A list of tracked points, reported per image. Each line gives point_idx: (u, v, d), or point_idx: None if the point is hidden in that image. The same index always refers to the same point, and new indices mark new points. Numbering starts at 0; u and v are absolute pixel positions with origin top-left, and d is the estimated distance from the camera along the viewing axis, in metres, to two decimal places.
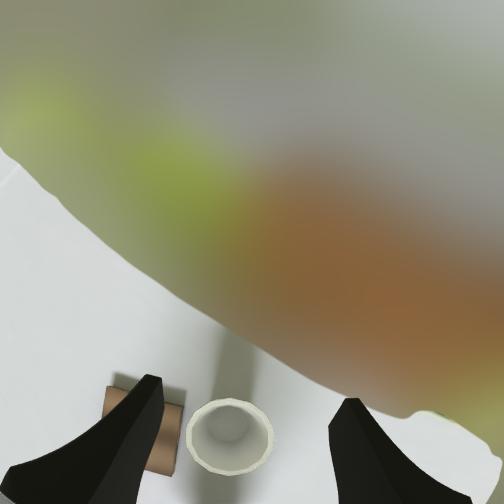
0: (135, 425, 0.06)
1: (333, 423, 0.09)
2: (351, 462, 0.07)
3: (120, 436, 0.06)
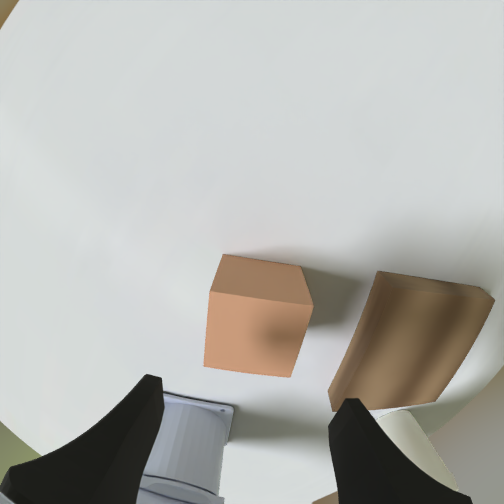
0: (135, 425, 0.06)
1: (333, 423, 0.09)
2: (351, 462, 0.07)
3: (120, 436, 0.06)
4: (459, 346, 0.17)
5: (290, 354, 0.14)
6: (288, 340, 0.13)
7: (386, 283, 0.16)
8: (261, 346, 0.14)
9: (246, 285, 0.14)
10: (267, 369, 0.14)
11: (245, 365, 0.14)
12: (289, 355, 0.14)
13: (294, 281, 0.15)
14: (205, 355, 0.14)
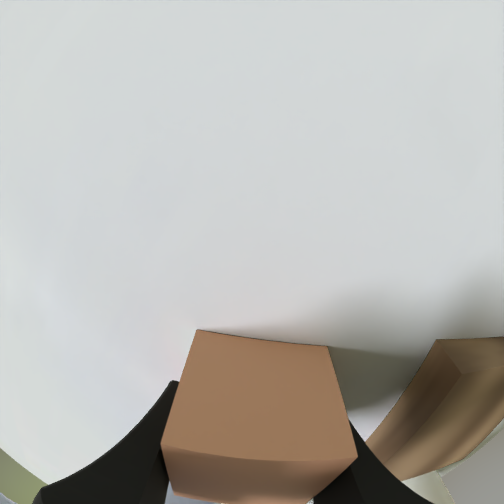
0: None
1: None
2: None
3: (153, 446, 0.06)
4: None
5: (306, 494, 0.06)
6: (305, 486, 0.06)
7: (451, 363, 0.08)
8: (260, 492, 0.06)
9: (233, 421, 0.06)
10: (269, 503, 0.07)
11: (236, 501, 0.07)
12: (304, 494, 0.06)
13: (320, 393, 0.07)
14: (174, 489, 0.06)
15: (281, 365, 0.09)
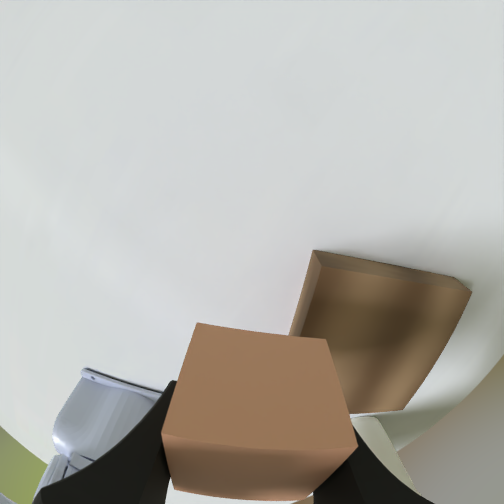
0: None
1: None
2: None
3: (154, 446, 0.06)
4: (427, 346, 0.15)
5: (306, 487, 0.06)
6: (306, 478, 0.06)
7: (317, 261, 0.14)
8: (261, 484, 0.06)
9: (234, 410, 0.06)
10: (270, 497, 0.07)
11: (236, 495, 0.07)
12: (305, 487, 0.06)
13: (319, 384, 0.08)
14: (174, 483, 0.07)
15: (280, 356, 0.09)
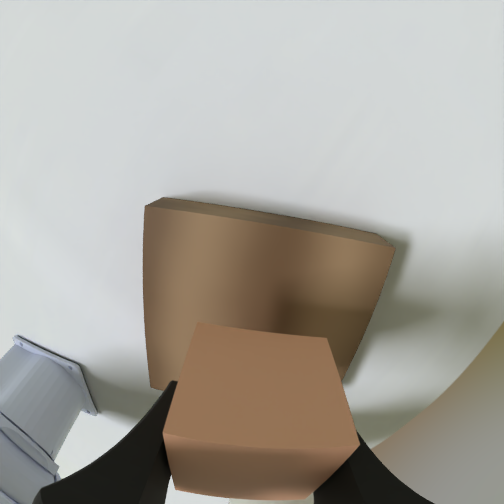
0: None
1: None
2: None
3: (153, 446, 0.06)
4: (333, 324, 0.13)
5: (308, 486, 0.06)
6: (308, 477, 0.06)
7: (151, 204, 0.12)
8: (262, 484, 0.06)
9: (235, 410, 0.06)
10: (271, 497, 0.07)
11: (237, 495, 0.07)
12: (306, 487, 0.06)
13: (321, 383, 0.08)
14: (175, 483, 0.06)
15: (281, 355, 0.09)
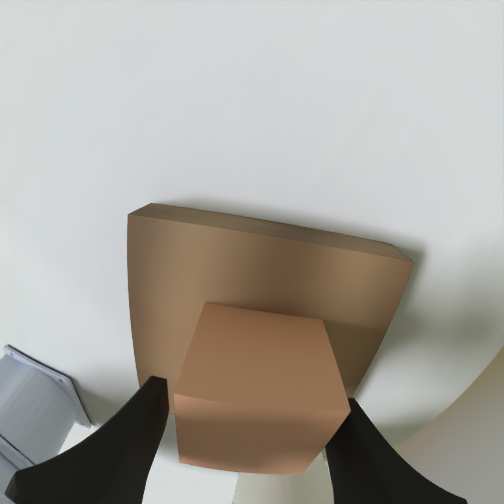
0: (141, 427, 0.06)
1: None
2: (346, 463, 0.07)
3: (127, 438, 0.06)
4: (342, 346, 0.12)
5: (304, 457, 0.08)
6: (304, 446, 0.07)
7: (136, 212, 0.11)
8: (262, 452, 0.07)
9: (239, 375, 0.07)
10: (270, 470, 0.08)
11: (238, 466, 0.08)
12: (303, 458, 0.08)
13: (316, 356, 0.09)
14: (180, 454, 0.08)
15: (280, 332, 0.10)
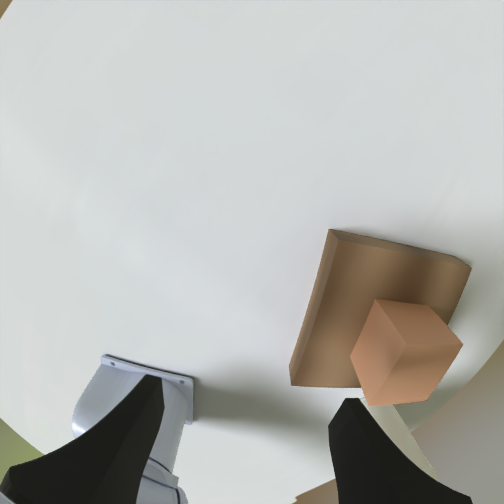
0: (135, 425, 0.06)
1: (333, 423, 0.09)
2: (351, 462, 0.07)
3: (120, 436, 0.06)
4: None
5: (435, 382, 0.13)
6: (439, 372, 0.13)
7: (334, 237, 0.16)
8: (420, 380, 0.13)
9: (420, 333, 0.13)
10: (415, 397, 0.13)
11: (401, 398, 0.13)
12: (434, 383, 0.13)
13: (438, 323, 0.14)
14: (375, 396, 0.13)
15: (418, 312, 0.15)
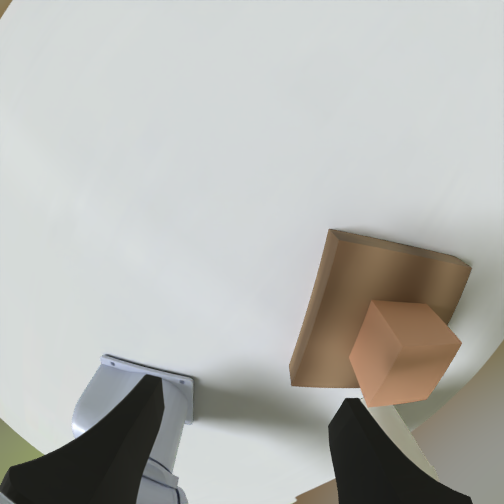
0: (135, 425, 0.06)
1: (333, 423, 0.09)
2: (351, 462, 0.07)
3: (120, 436, 0.06)
4: None
5: (434, 382, 0.13)
6: (438, 371, 0.13)
7: (334, 237, 0.16)
8: (419, 380, 0.13)
9: (417, 333, 0.13)
10: (415, 397, 0.13)
11: (401, 398, 0.13)
12: (433, 382, 0.13)
13: (436, 322, 0.14)
14: (374, 398, 0.13)
15: (415, 312, 0.15)
